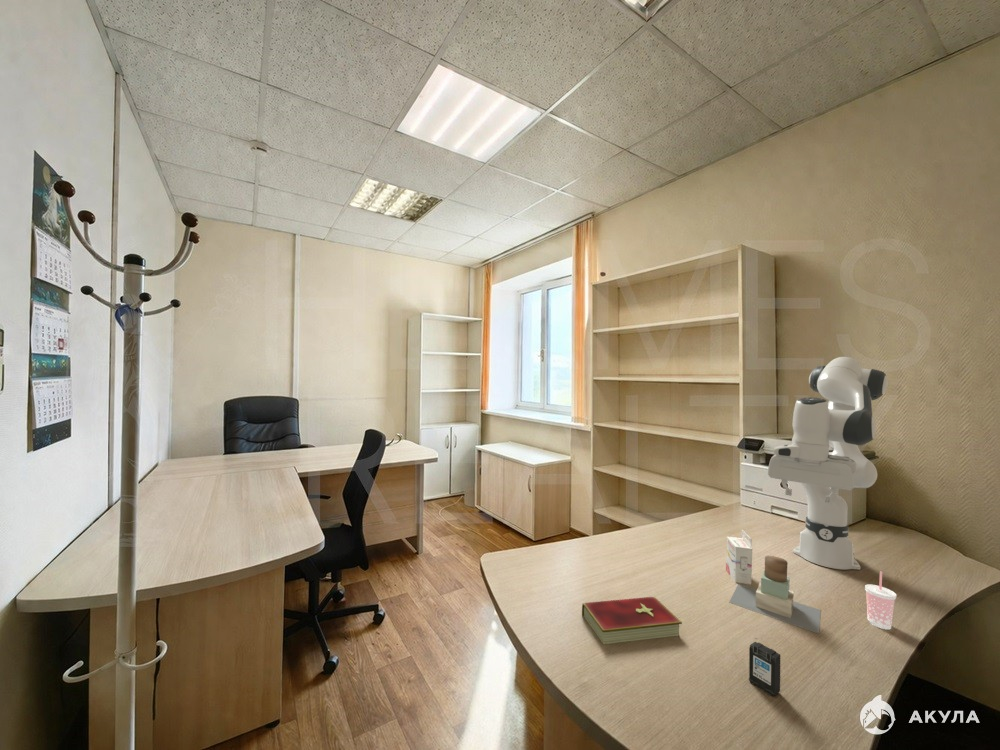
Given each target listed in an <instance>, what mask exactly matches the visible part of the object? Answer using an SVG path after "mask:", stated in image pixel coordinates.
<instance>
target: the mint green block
mask: <svg viewBox="0 0 1000 750" xmlns="http://www.w3.org/2000/svg"><path fill="white" fill-rule="evenodd" d="M764 573H765V569H764V570H763V572H762V575H761V577H760V581H761V592H762V593H765V594H769V595H772V596H775V597H778V598H781V599H784V600H787V598H788V594H789V590H790V582H791V581H790V580H791V577H788V576H787V582H776V581H773V580H770V579H768V578H767V577H765V575H764Z"/></svg>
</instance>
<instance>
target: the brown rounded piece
mask: <svg viewBox="0 0 1000 750" xmlns="http://www.w3.org/2000/svg"><path fill="white" fill-rule="evenodd" d="M764 570H765V573H764V575H765V577H767V578H768V579H770V580H773V581H776V582H787V577H788V561H787V560H786V559H784V558H781V557H779V556H775V555H765V557H764Z"/></svg>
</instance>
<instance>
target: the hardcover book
mask: <svg viewBox="0 0 1000 750" xmlns="http://www.w3.org/2000/svg"><path fill="white" fill-rule="evenodd" d="M581 616H582V617H583V618H584V619H585V620H586V621H587V623H588V624H589V626H590V628H591V629H592V630H593V632H594V633H595V634H596V636H597V637H598V639H599V640H600V642H601V644H603V645H609V644H611V645H612V644H618V643H627V642H634V641H644V640H654V639H661V638H669V637H679V636H680V625H682V624H683V623H682V621H681V620H680V619H679V618H678V617H676V615H675V614H674V613H672V612H671V611H670V610H669V609H668V608H667V607H666V606H665V605H664V604H663V603H662V602H661V601H659V599H657V597H656V596H647V597H635V598H625V599H624V598H623V599H613V600H602V601H601V600H600V601H593V602H592V601H591V602H590V601H588V602H583V603H582V606H581Z"/></svg>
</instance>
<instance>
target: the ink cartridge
mask: <svg viewBox="0 0 1000 750" xmlns="http://www.w3.org/2000/svg"><path fill="white" fill-rule="evenodd" d="M748 649H749V650H748V651H749V653H748V655H749V659H748V661H749V662H748V663H749V664H748V667H749V670H748V673H749V674H748V675H749V676H748V680H749V683H750V684H752V685H754V686H756V687H757V688H759V689H760V690H762V691H763V692H766V693H767V695H768V694H769V695H770V696H772V697H775V696H776V695H777V694H779V693H780V692H781V654H779V653H778V652H777V651H775V650H774V649H772V648H770V647H769V646H768V647H767V646H766V645H764V643H761V642H759V641H758V642H757V641H754V642H752V643H751V644H749V647H748Z"/></svg>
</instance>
